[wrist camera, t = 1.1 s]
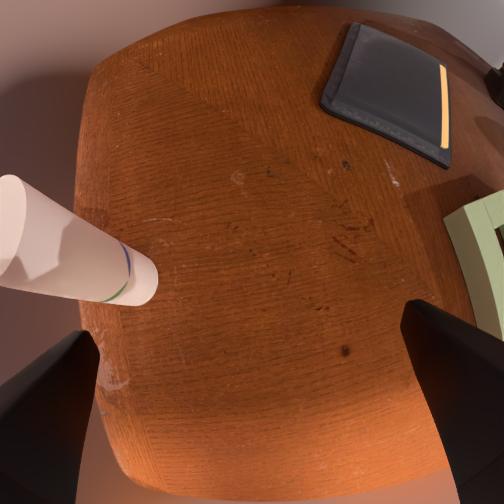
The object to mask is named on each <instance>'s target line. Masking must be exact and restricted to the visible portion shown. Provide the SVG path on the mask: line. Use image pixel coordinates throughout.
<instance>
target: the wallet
mask: <svg viewBox="0 0 504 504" xmlns="http://www.w3.org/2000/svg"><path fill="white" fill-rule="evenodd" d="M320 106H321V107H322V108H323V109H324V110H325V111H326V112H327V113H328V114H331V115H333V116H336V117H338V118H340V119H343V120H345V121H348V122H350V123H353V124H355V125H358V126H360V127H363V128H365V129H367V130H370V131H372V132H374V133H377V134H379V135H381V136H383V137H386V138H388V139H390V140H392V141H394V142H396V143H398V144H400V145H402V146H404V147H406V148H408V149H410V150H412V151H414V152H415V153H417V154H419V155H421V156H423V157H425V158H427V159H429V160H430V161H432V162H434V163H436V164H438V165H440V166H441V167H443V168H445V169H446V170H448V169H449V168H450V163H451V108H450V91H449V79H448V69H447V64H445V63H443V62H442V61H440V60H438V59H437V58H435V57H433V56H432V55H430V54H428V53H426V52H424V51H423V50H421V49H419V48H417V47H415V46H413V45H411V44H409V43H407V42H405V41H402V40H400V39H398V38H396V37H394V36H392V35H389V34H387V33H385V32H382V31H380V30H377V29H375V28H373V27H370V26H367V25H364V24H362V23H356V22H352V24H351V26H350V28H349V30H348V33H347V36H346V38H345V41H344V44H343V47H342V49H341V52H340V55H339V57H338V59H337V61H336V64H335V66H334V68H333V71H332V73H331V75H330V77H329V80H328V82H327V84H326V86H325V88H324V90H323V93H322V97H321V102H320Z"/></svg>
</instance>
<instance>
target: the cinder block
mask: <svg viewBox="0 0 504 504" xmlns="http://www.w3.org/2000/svg"><path fill="white" fill-rule="evenodd" d="M443 221H444V223H445V225H446V228H447V230H448V233H449V235H450V238H451V241H452V243H453V246H454V249H455V252H456V254H457V257H458V260H459V263H460V266H461V269H462V272H463V275H464V279H465V282H466V285H467V289H468V292H469V296H470V299H471V303H472V307H473V311H474V315H475V319H476V324H477V328H479V329H481V330H483V331H485V332H487V333H489V334H491V335H493V336H495V337H497V338H498V339H500V340H502V341H504V257H503V254H502V251H501V248H500V245H499V242H498V239H497V236H496V233H495V231H494V229H495V228H497V227H499V230H500V233H501V235H502V238H503V241H504V189H503V190H500V191H498V192H496V193H493V194H491V195H489V196H486V197H484V198H481V199H479V200H476V201H474V202H471V203H469V204H467V205H464V206H462V207H461V208H459V209H457V210H456V211H454V212H452V213H451V214H449V215H448V216H446V217H444V218H443Z"/></svg>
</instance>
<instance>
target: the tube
mask: <svg viewBox="0 0 504 504" xmlns="http://www.w3.org/2000/svg"><path fill="white" fill-rule="evenodd" d="M157 285H158V272H157V269H156V267H155V265H154V263H153V262H152V261H151V260H150V259H149V258H148V257H146V256H144V255H143V254H141V253H139V252H137V251H136V250H134V249H132V248H130V247H129V246H127V245H125V244H123V243H122V242H120V241H118V240H116V239H115V238H113V237H111V236H110V235H108V234H106V233H105V232H103V231H101V230H100V229H98V228H96V227H95V226H93V225H91V224H90V223H88V222H86V221H85V220H83V219H81V218H80V217H78V216H77V215H75V214H73V213H72V212H70V211H68V210H67V209H65V208H64V207H62V206H61V205H59V204H58V203H56V202H54V201H53V200H51V199H50V198H48V197H47V196H45V195H44V194H42V193H41V192H39V191H37V190H36V189H34V188H33V187H31V186H30V185H28V184H27V183H25V182H24V181H22V180H21V179H19V178H18V177H16V176H14V175H5V176H2V177H0V286H2V287H8V288H13V289H18V290H23V291H29V292H35V293H40V294H46V295H52V296H60V297H65V298H72V299H79V300H86V301H94V302H102V303H110V304H118V305H127V306H140V305H142V304H145V303H146V302H148V301H149V300H150V299H151V298H152V297H153V295H154V293H155V291H156V289H157Z"/></svg>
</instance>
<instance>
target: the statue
mask: <svg viewBox="0 0 504 504" xmlns="http://www.w3.org/2000/svg"><path fill="white" fill-rule="evenodd" d="M485 82H486V85H487V87H488V90H489V93H490V95H491V97H492V99H493V100H494V101H495V102H496V103H497V104H498V105H499V106H500V107H502V108H503V109H504V63H503V66H502V67H501V68H500V69H499V70H498V69H496V68H494V67H493V68H491V69H490V70H489V72H488V74H487V75H486V76H485Z"/></svg>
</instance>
